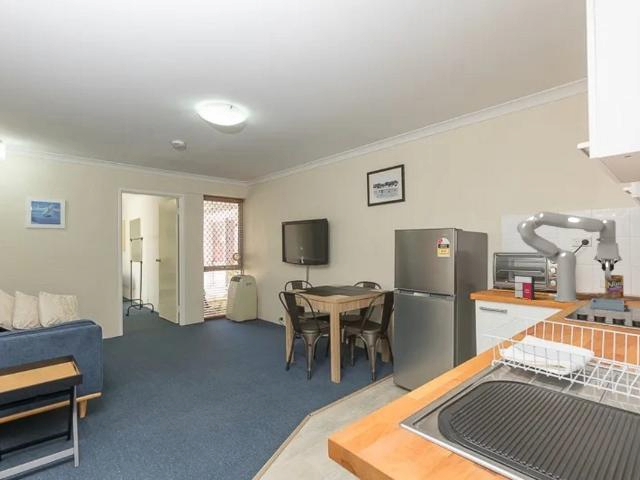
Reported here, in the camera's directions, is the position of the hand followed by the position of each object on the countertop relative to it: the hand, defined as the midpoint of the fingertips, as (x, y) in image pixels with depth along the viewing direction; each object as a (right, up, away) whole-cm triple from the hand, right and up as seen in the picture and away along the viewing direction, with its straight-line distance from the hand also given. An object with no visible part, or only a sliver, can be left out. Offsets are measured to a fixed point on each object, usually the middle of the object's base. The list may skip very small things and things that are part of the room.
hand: (607, 270), depth 208 cm
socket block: (0, -19, 0) cm, 20 cm away
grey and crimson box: (-40, -20, +18) cm, 48 cm away
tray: (-13, -19, -15) cm, 28 cm away
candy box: (+18, -20, +16) cm, 31 cm away
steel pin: (0, -5, 0) cm, 5 cm away
